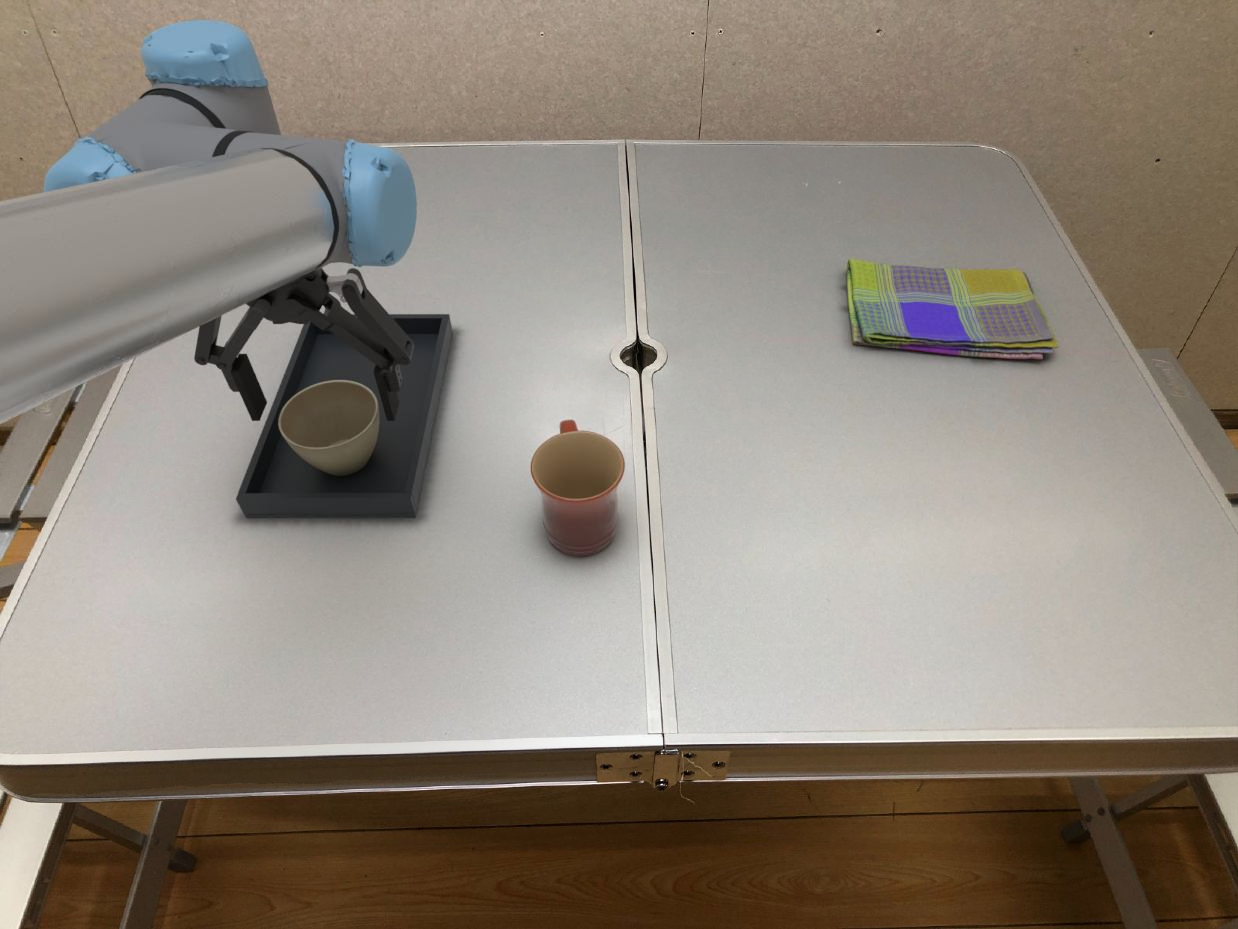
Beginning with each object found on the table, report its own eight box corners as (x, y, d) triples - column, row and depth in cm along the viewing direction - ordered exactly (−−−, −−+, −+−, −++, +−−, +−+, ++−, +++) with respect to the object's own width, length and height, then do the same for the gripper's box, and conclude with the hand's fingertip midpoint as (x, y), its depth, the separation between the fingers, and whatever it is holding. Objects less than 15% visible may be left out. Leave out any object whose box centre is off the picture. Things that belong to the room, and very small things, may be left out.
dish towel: (843, 267, 115) (847, 250, 113) (1025, 279, 114) (1033, 262, 111) (852, 350, 104) (856, 332, 102) (1054, 365, 102) (1063, 348, 100)
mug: (631, 559, 83) (633, 493, 75) (544, 573, 82) (536, 507, 74) (610, 470, 91) (609, 401, 83) (530, 481, 90) (522, 413, 82)
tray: (416, 517, 86) (410, 498, 84) (245, 518, 86) (235, 499, 84) (453, 333, 106) (449, 313, 104) (314, 333, 106) (307, 314, 104)
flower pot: (363, 413, 96) (348, 366, 90) (409, 463, 91) (396, 416, 85) (282, 455, 91) (261, 408, 86) (324, 509, 86) (305, 463, 81)
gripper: (418, 203, 72) (453, 386, 88) (129, 203, 72) (215, 386, 88) (403, 253, 67) (443, 437, 83) (92, 252, 67) (191, 437, 83)
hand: (326, 411), depth 85 cm, fingers open, 13 cm apart
